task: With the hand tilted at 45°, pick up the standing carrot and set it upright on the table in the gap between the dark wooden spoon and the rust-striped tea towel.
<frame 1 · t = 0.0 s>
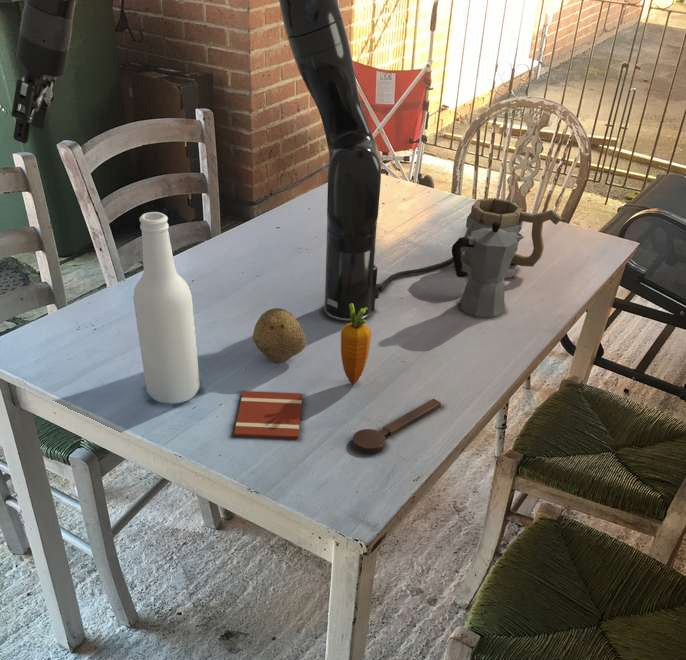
hand: (29, 133, 132), 31 cm above the table, tool tilted 20°, fingers open, 8 cm apart
wooden spoon: (396, 428, 122), on the table
coffeepot: (477, 308, 156), on the table
carrot: (352, 385, 132), on the table
brown round lump: (277, 360, 137), on the table
tea towel: (269, 415, 123), on the table
tankard: (502, 271, 170), on the table
alcohol: (173, 391, 128), on the table
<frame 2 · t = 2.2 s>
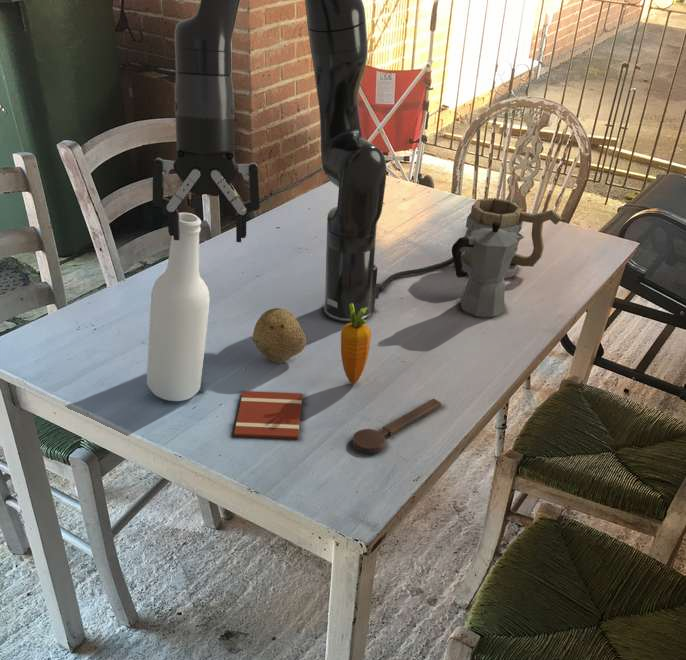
hand: (207, 240, 106), 29 cm above the table, tool pointing down, fingers open, 8 cm apart
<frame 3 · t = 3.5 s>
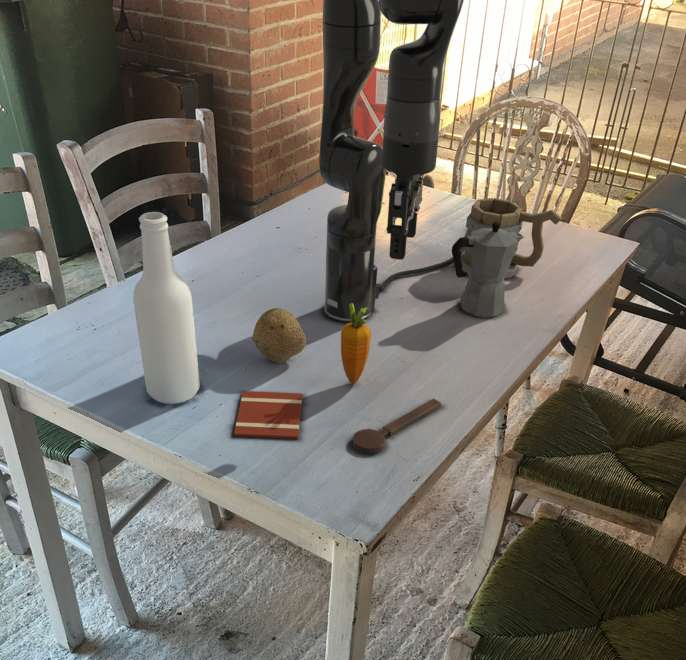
hand: (402, 247, 113), 26 cm above the table, tool pointing down, fingers open, 8 cm apart
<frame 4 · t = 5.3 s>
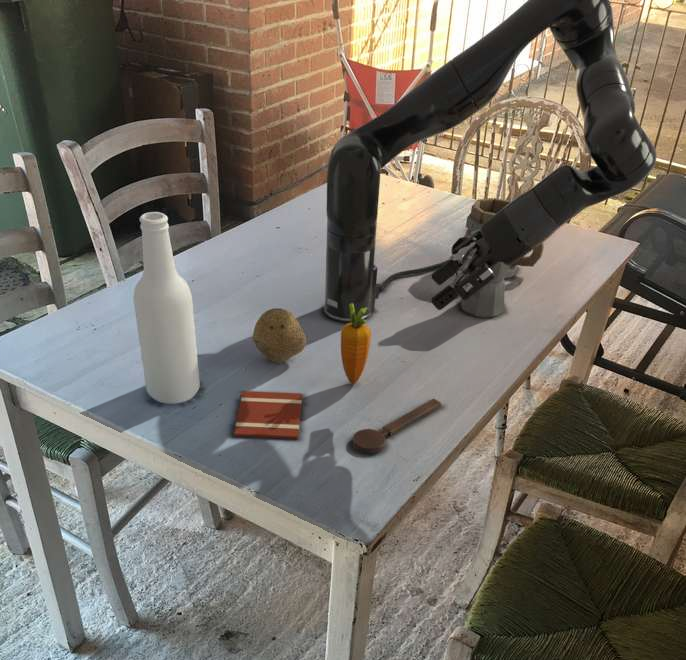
hand: (434, 292, 120), 18 cm above the table, tool tilted 45°, fingers open, 8 cm apart
nothing on the table moved.
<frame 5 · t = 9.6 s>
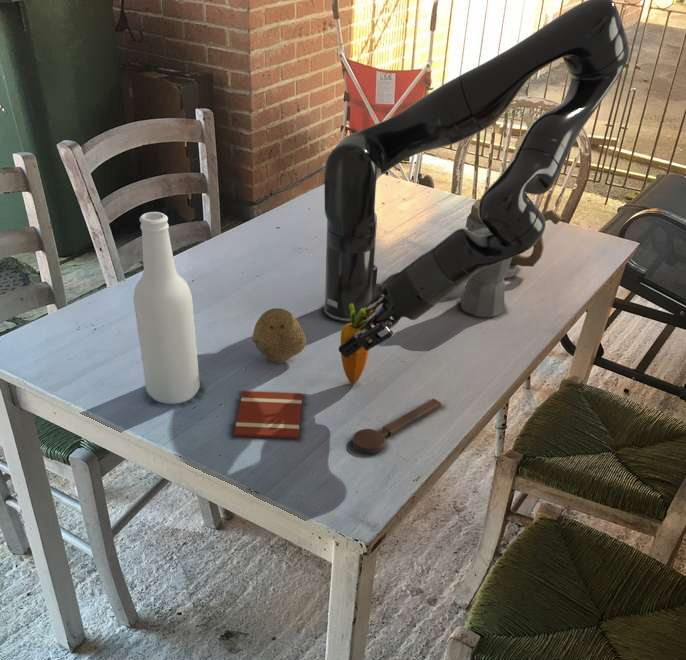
hand: (344, 344, 127), 8 cm above the table, tool tilted 45°, fingers closed on carrot, 5 cm apart
carrot: (352, 385, 132), on the table, touching gripper
everything else where it was.
when the fingers open (8 cm above the table, at t = 17.6 s): carrot stays where it is, on the table.
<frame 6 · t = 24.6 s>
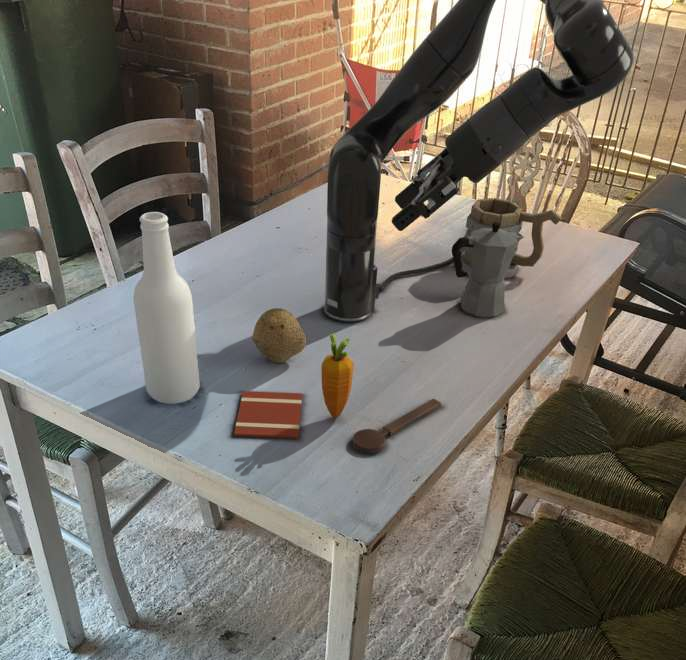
hand: (396, 214, 112), 31 cm above the table, tool tilted 45°, fingers open, 8 cm apart
carrot: (335, 419, 124), on the table
everything else where it was.
at the end: carrot 0.2 cm from the target spot, on the table; carrot tilted 0°; the gripper is holding nothing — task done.
